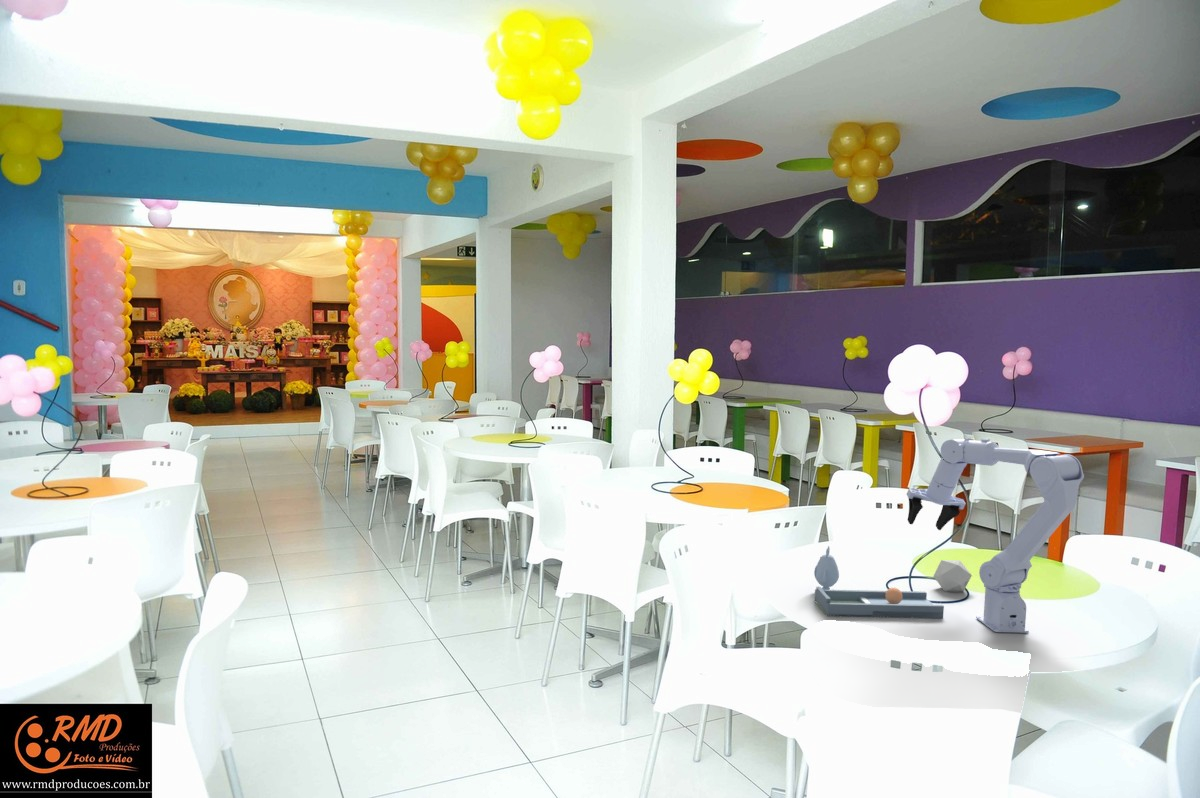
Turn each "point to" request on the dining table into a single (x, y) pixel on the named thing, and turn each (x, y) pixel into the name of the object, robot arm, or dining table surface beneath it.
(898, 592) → the ball
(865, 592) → the lane
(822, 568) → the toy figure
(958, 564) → the die
